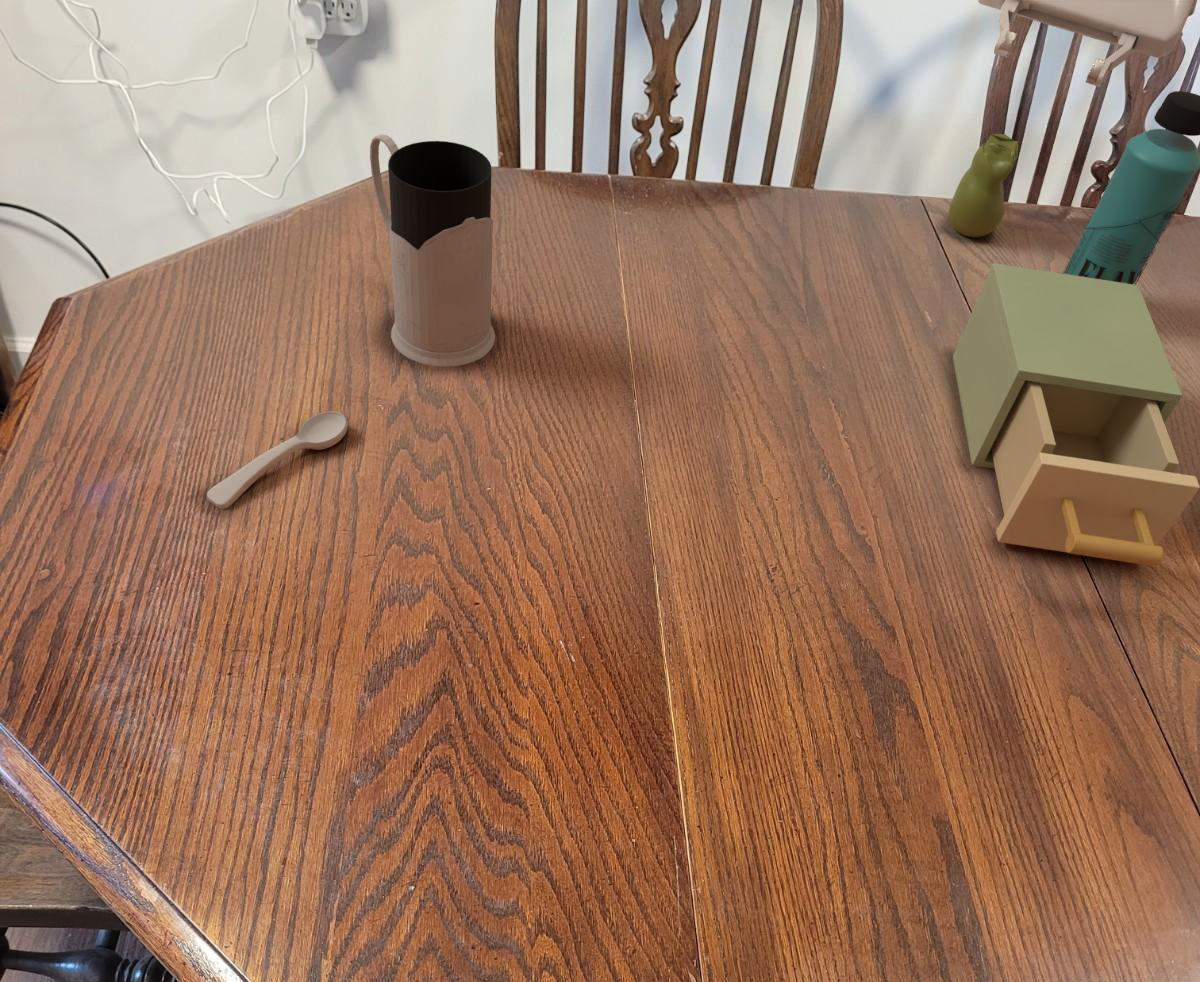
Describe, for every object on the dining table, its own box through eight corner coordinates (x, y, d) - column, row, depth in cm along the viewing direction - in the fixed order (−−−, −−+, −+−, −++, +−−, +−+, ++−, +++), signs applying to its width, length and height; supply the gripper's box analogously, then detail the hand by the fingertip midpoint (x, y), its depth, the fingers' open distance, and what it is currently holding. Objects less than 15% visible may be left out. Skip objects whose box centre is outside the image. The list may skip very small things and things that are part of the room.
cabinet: (1120, 490, 83) (1183, 395, 76) (970, 467, 83) (1019, 370, 76) (1085, 379, 93) (1138, 284, 86) (951, 358, 93) (993, 262, 86)
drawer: (1159, 615, 74) (1220, 538, 68) (1006, 591, 74) (1054, 513, 68) (1107, 445, 86) (1154, 367, 80) (975, 425, 86) (1013, 346, 80)
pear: (945, 213, 110) (980, 119, 102) (995, 227, 109) (1034, 132, 102) (938, 239, 106) (974, 143, 99) (990, 252, 106) (1030, 157, 98)
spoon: (359, 435, 78) (355, 416, 77) (230, 524, 73) (223, 505, 71) (332, 417, 80) (327, 397, 78) (203, 503, 74) (196, 483, 72)
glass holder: (427, 382, 84) (421, 208, 72) (337, 294, 90) (319, 121, 79) (516, 348, 88) (524, 177, 76) (424, 265, 94) (418, 97, 83)
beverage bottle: (1045, 316, 99) (1150, 103, 84) (1052, 281, 103) (1153, 73, 88) (1114, 336, 98) (1233, 125, 83) (1118, 301, 102) (1233, 94, 87)
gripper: (1014, -118, 102) (948, 19, 103) (1227, -60, 96) (1154, 83, 98) (1008, -76, 108) (946, 52, 109) (1209, -20, 102) (1140, 114, 104)
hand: (1046, 67), depth 104 cm, fingers open, 8 cm apart
